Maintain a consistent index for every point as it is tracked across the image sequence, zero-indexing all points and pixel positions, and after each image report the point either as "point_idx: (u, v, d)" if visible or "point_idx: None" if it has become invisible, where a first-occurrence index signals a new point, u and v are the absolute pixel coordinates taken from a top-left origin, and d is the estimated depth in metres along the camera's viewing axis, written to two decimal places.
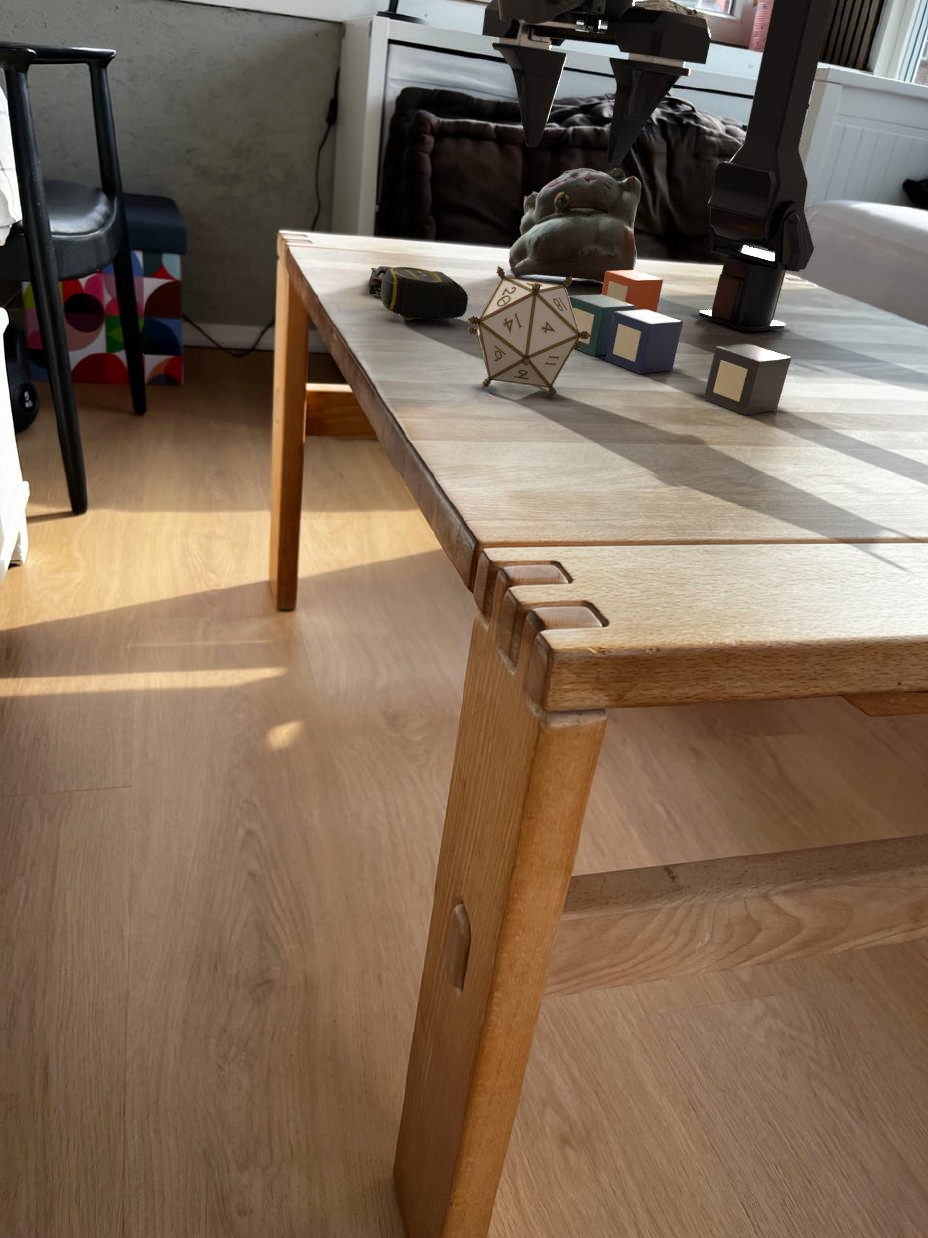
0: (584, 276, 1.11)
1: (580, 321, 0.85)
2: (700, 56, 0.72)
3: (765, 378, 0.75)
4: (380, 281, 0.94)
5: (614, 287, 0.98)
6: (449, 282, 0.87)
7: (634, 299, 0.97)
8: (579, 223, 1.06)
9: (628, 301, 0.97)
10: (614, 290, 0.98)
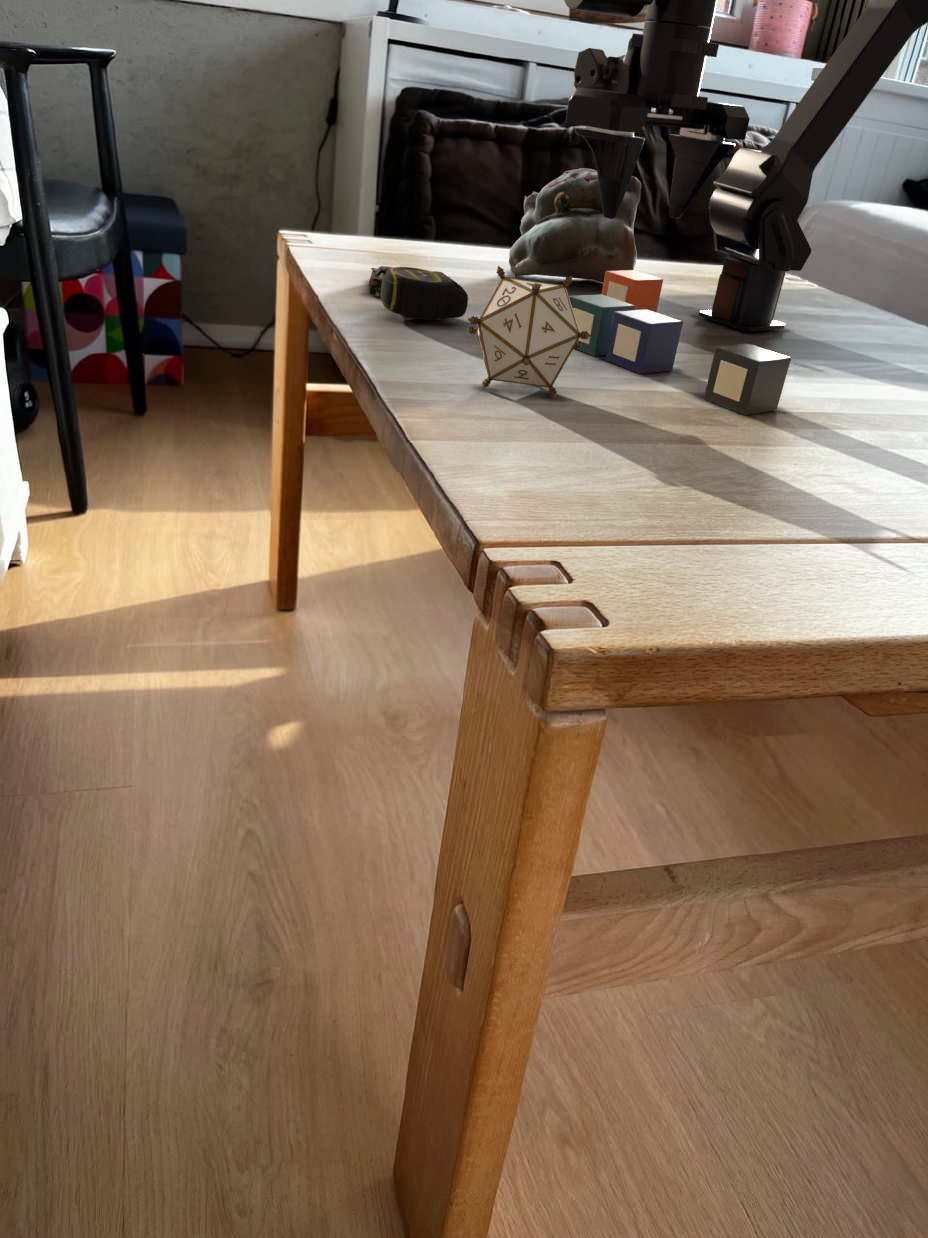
0: (584, 276, 1.11)
1: (580, 321, 0.85)
2: (603, 123, 0.85)
3: (765, 378, 0.75)
4: (380, 281, 0.94)
5: (614, 287, 0.98)
6: (449, 282, 0.87)
7: (634, 299, 0.97)
8: (579, 223, 1.06)
9: (628, 301, 0.97)
10: (614, 290, 0.98)
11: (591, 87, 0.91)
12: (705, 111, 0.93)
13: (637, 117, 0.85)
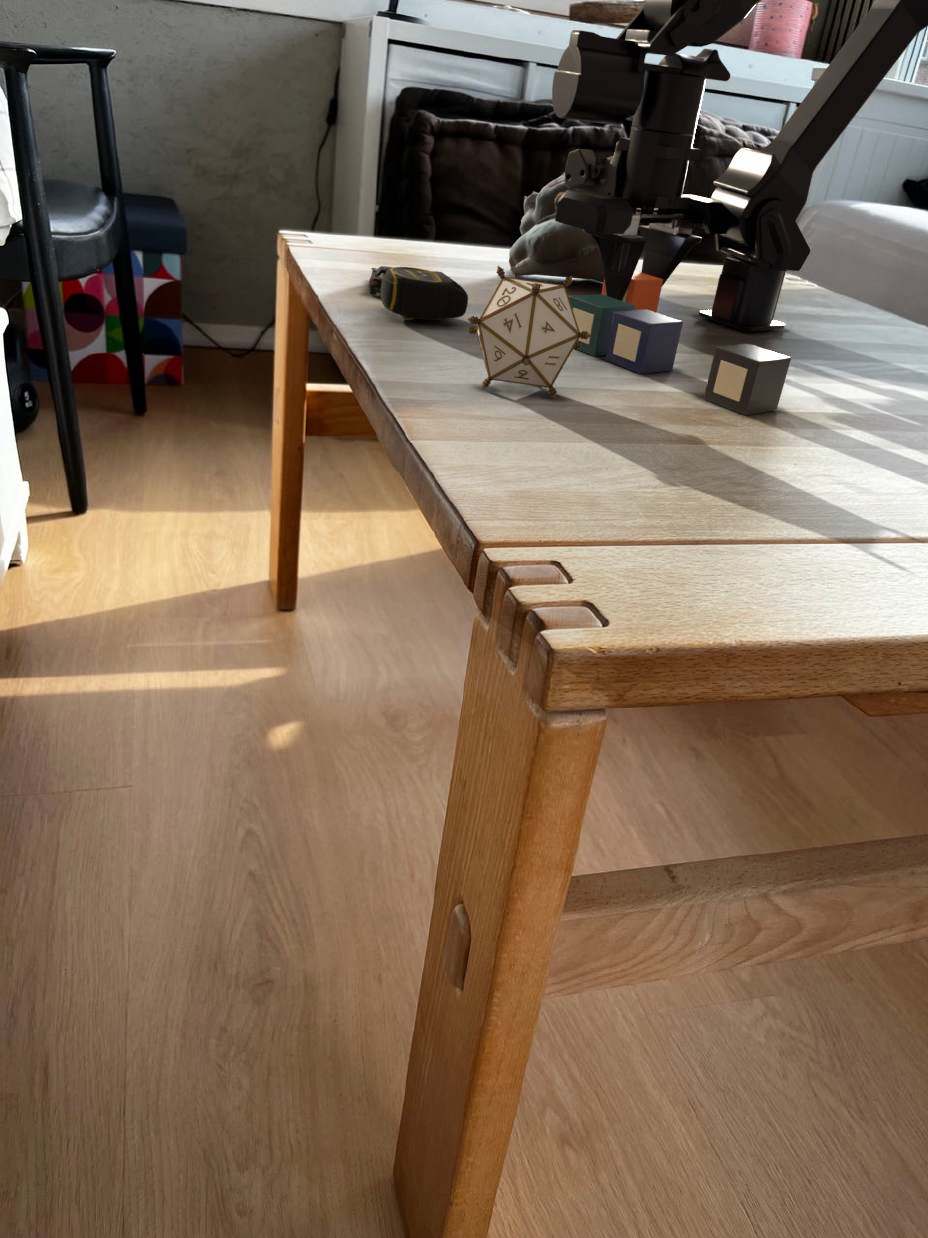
0: (584, 276, 1.11)
1: (580, 321, 0.85)
2: (589, 226, 0.90)
3: (765, 378, 0.75)
4: (380, 281, 0.94)
5: None
6: (449, 282, 0.87)
7: (634, 298, 0.97)
8: None
9: (628, 301, 0.97)
10: None
11: (580, 185, 0.96)
12: (689, 207, 0.98)
13: (622, 220, 0.90)
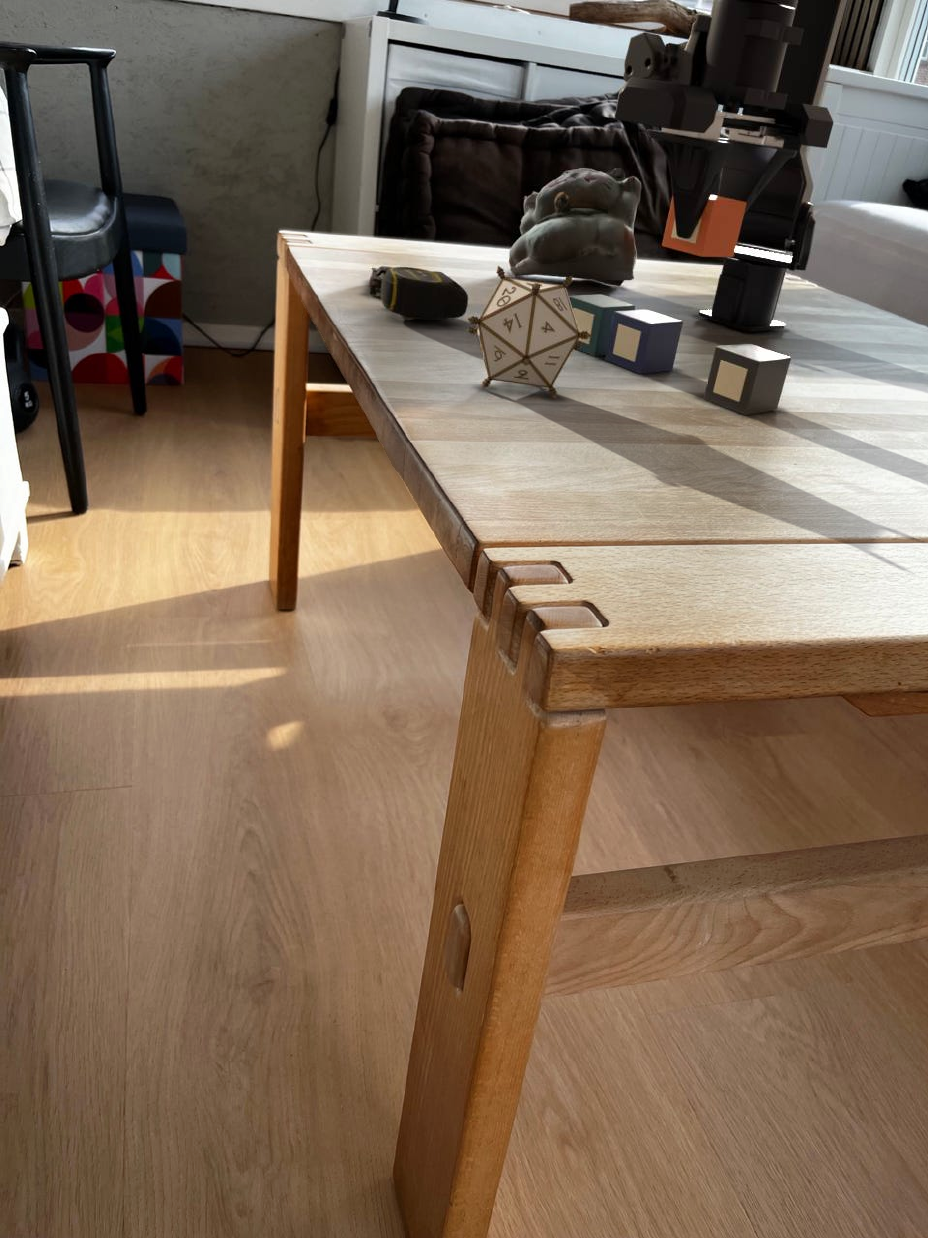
0: (584, 276, 1.11)
1: (580, 321, 0.85)
2: (661, 120, 0.69)
3: (765, 378, 0.75)
4: (380, 281, 0.94)
5: None
6: (449, 282, 0.87)
7: (710, 225, 0.76)
8: (579, 223, 1.06)
9: (703, 228, 0.77)
10: None
11: None
12: (780, 112, 0.78)
13: (704, 114, 0.69)
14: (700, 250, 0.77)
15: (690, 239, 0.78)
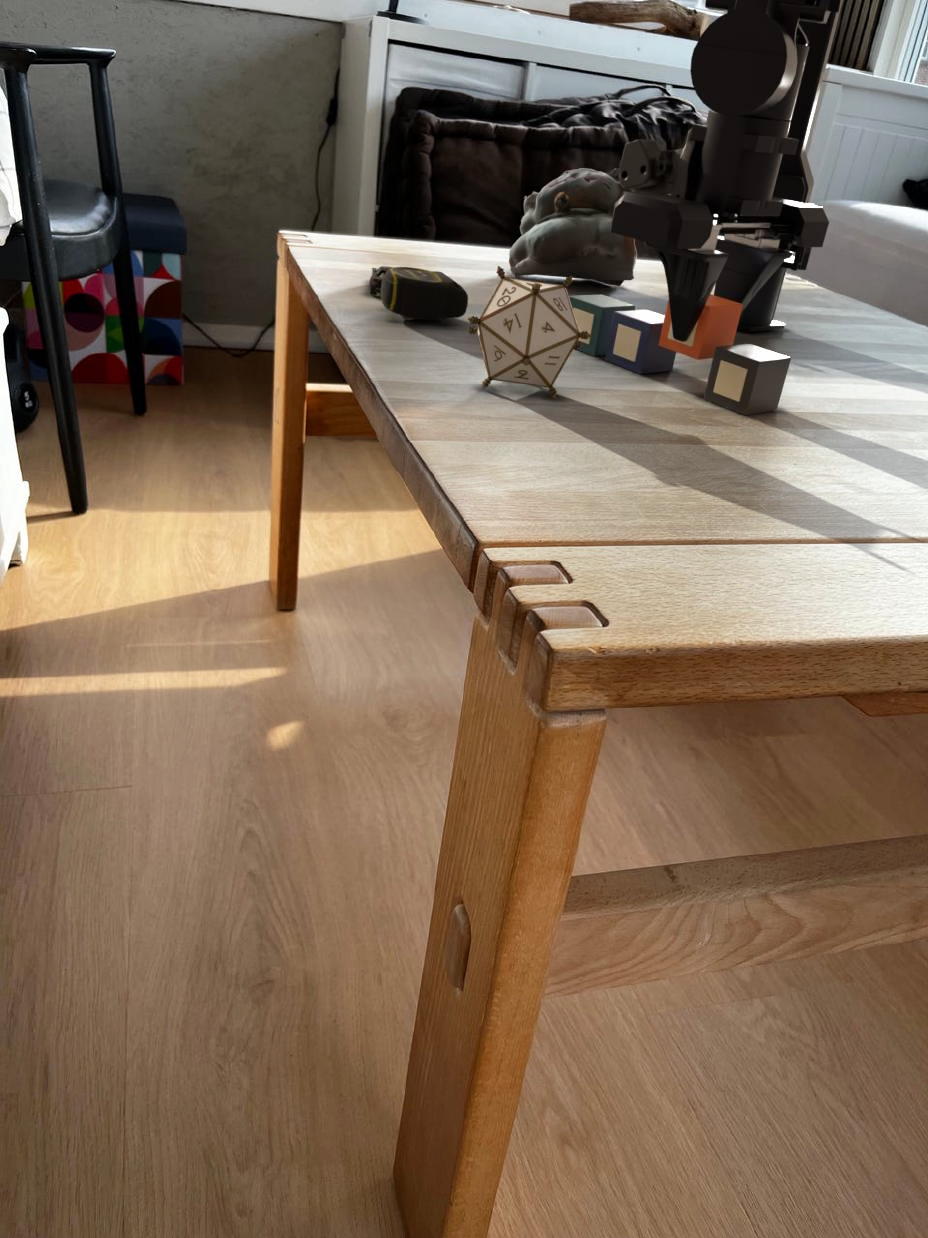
0: (584, 276, 1.11)
1: (580, 321, 0.85)
2: (658, 239, 0.69)
3: (765, 378, 0.75)
4: (381, 281, 0.94)
5: None
6: (449, 282, 0.87)
7: (707, 329, 0.76)
8: (579, 223, 1.06)
9: (699, 332, 0.77)
10: None
11: (640, 185, 0.75)
12: None
13: (700, 231, 0.69)
14: (697, 353, 0.77)
15: (687, 342, 0.78)
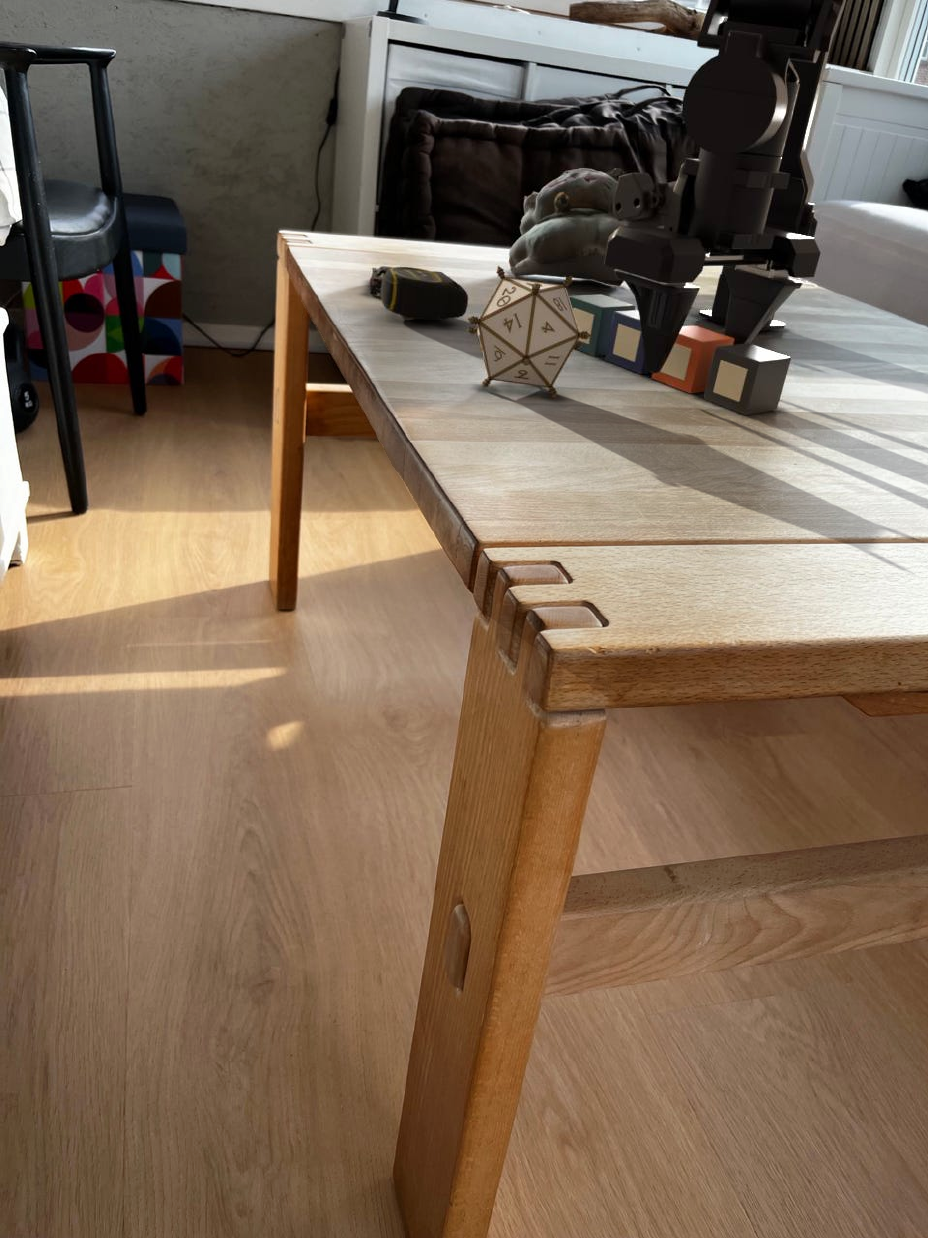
0: (584, 276, 1.11)
1: (580, 321, 0.85)
2: (650, 273, 0.70)
3: (765, 378, 0.75)
4: (381, 281, 0.94)
5: (674, 348, 0.79)
6: (449, 282, 0.87)
7: (699, 364, 0.78)
8: (579, 223, 1.06)
9: (691, 367, 0.78)
10: (674, 352, 0.79)
11: (634, 218, 0.76)
12: None
13: (692, 265, 0.70)
14: (689, 387, 0.78)
15: (679, 376, 0.79)
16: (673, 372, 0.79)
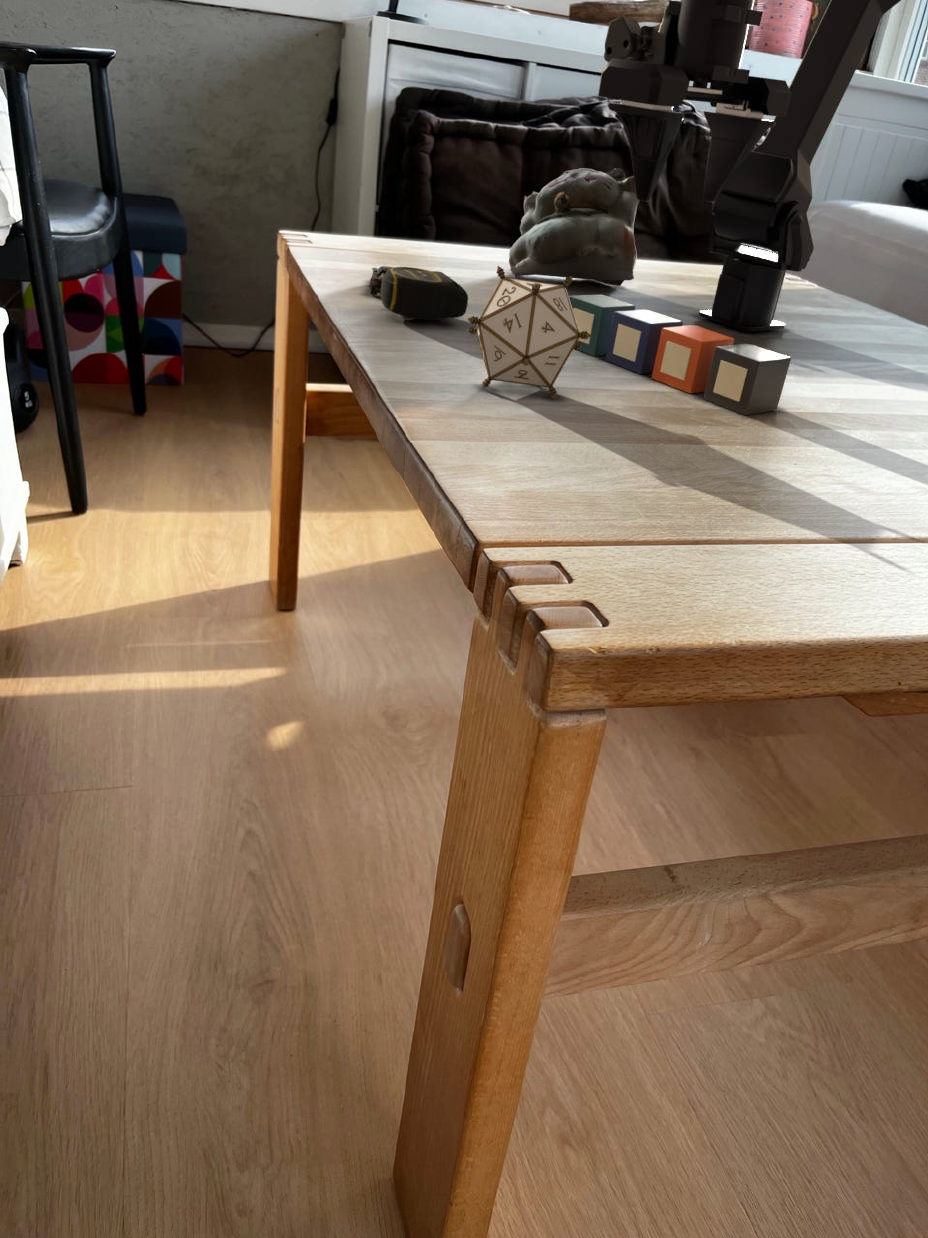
0: (584, 276, 1.11)
1: (580, 321, 0.85)
2: (640, 97, 0.78)
3: (765, 378, 0.75)
4: (381, 281, 0.94)
5: (674, 348, 0.79)
6: (449, 282, 0.87)
7: (699, 364, 0.78)
8: (579, 223, 1.06)
9: (691, 367, 0.78)
10: (674, 352, 0.79)
11: (623, 59, 0.85)
12: (744, 86, 0.87)
13: (677, 90, 0.79)
14: (689, 387, 0.78)
15: (679, 376, 0.79)
16: (673, 372, 0.79)
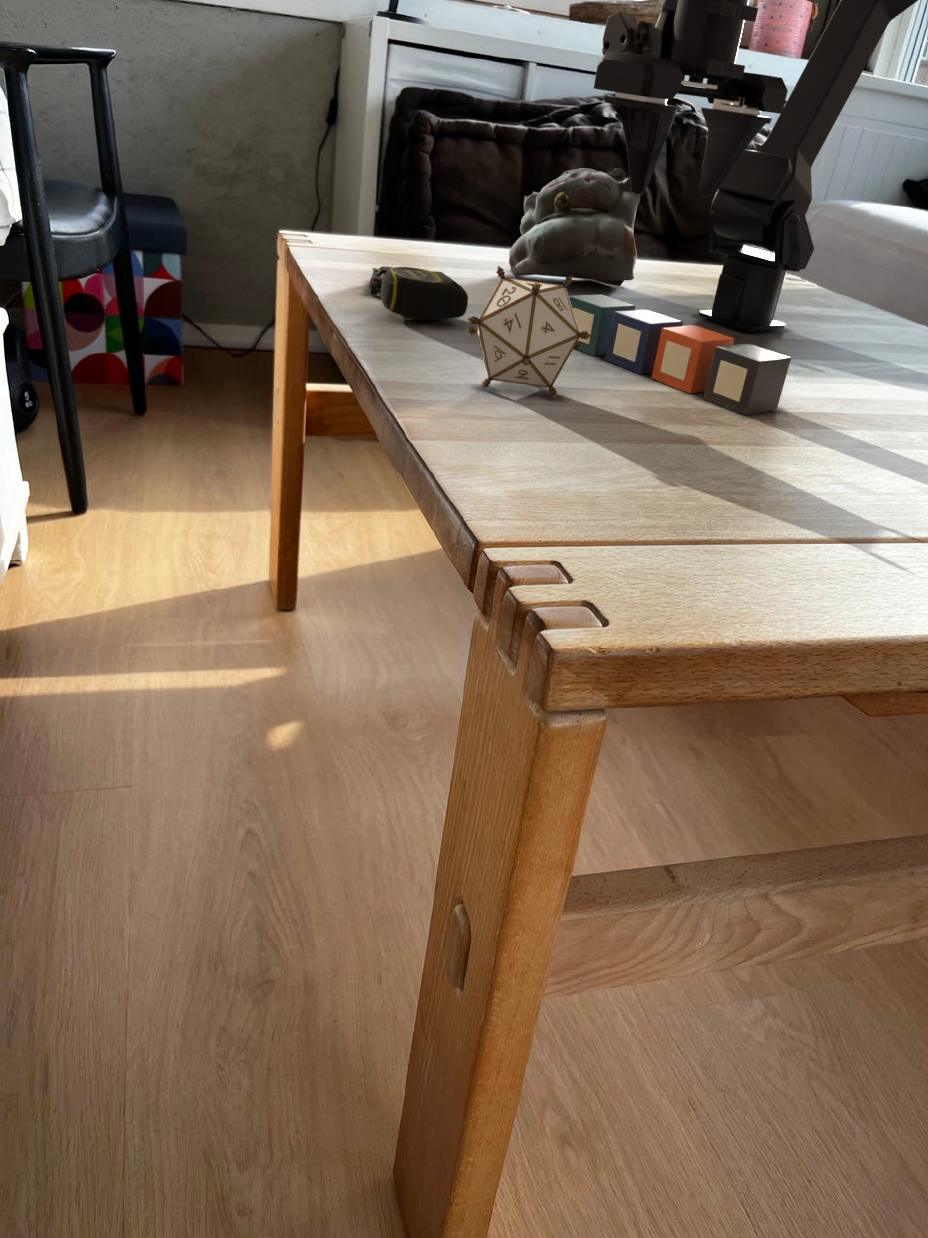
0: (584, 276, 1.11)
1: (580, 321, 0.85)
2: (634, 89, 0.79)
3: (765, 378, 0.75)
4: (381, 281, 0.94)
5: (674, 348, 0.79)
6: (449, 282, 0.87)
7: (699, 364, 0.78)
8: (579, 223, 1.06)
9: (691, 367, 0.78)
10: (674, 352, 0.79)
11: None
12: (741, 82, 0.88)
13: (671, 83, 0.80)
14: (689, 387, 0.78)
15: (679, 376, 0.79)
16: (673, 372, 0.79)
